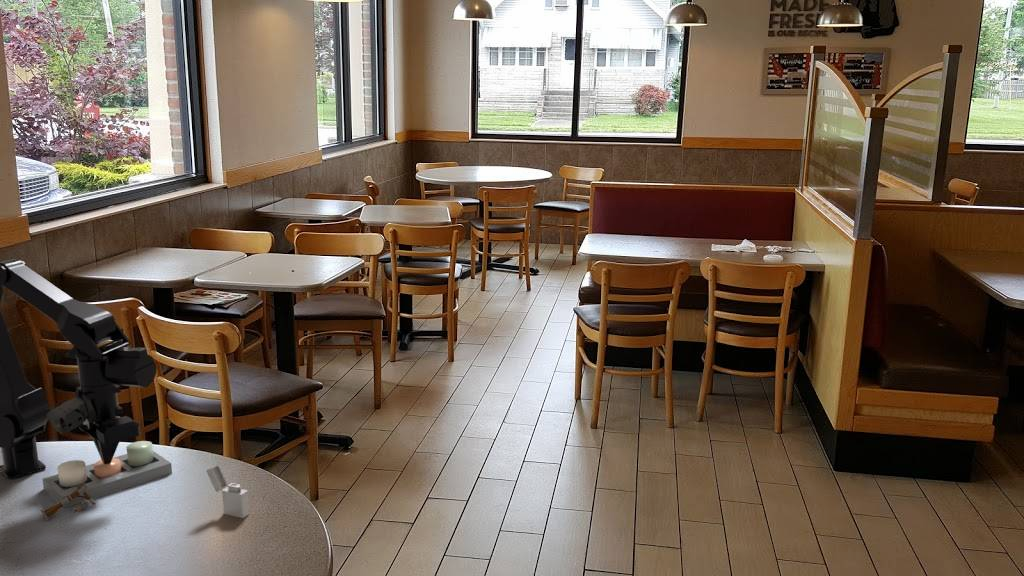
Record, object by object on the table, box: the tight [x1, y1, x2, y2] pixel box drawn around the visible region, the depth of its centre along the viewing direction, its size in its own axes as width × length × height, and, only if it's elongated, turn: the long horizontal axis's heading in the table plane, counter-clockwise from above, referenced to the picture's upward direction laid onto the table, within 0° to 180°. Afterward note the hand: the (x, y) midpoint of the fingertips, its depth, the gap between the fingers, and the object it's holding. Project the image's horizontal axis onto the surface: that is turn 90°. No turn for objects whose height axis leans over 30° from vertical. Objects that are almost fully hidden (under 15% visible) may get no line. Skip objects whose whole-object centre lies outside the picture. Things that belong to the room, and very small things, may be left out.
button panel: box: [41, 450, 173, 508], centre depth 159 cm, size 10×19×2 cm, turn 136°
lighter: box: [206, 464, 250, 519], centre depth 147 cm, size 7×2×8 cm, turn 67°
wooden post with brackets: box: [39, 483, 97, 522], centre depth 147 cm, size 2×8×4 cm, turn 128°
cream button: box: [57, 459, 87, 488], centre depth 154 cm, size 4×4×3 cm
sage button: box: [126, 440, 154, 467], centre depth 162 cm, size 4×4×3 cm
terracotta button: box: [93, 457, 122, 479], centre depth 159 cm, size 4×4×3 cm
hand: (107, 463), depth 158 cm, fingers closed, pressing on terracotta button
